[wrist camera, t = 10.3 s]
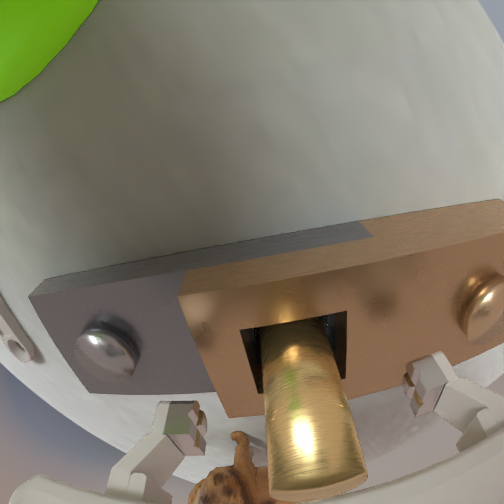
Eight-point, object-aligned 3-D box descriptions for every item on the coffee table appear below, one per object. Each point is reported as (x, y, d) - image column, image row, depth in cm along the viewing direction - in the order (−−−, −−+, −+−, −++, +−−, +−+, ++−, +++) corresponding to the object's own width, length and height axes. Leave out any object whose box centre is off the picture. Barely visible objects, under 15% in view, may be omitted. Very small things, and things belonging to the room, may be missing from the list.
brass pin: (253, 286, 15) (262, 481, 6) (312, 276, 15) (374, 460, 6) (263, 330, 16) (275, 505, 7) (316, 321, 16) (362, 489, 7)
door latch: (44, 279, 15) (0, 327, 10) (498, 198, 13) (554, 229, 8) (98, 373, 18) (75, 425, 14) (479, 306, 16) (517, 348, 12)
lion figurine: (198, 453, 23) (191, 533, 15) (189, 427, 21) (177, 523, 13) (349, 445, 23) (366, 521, 15) (363, 418, 21) (388, 507, 13)
